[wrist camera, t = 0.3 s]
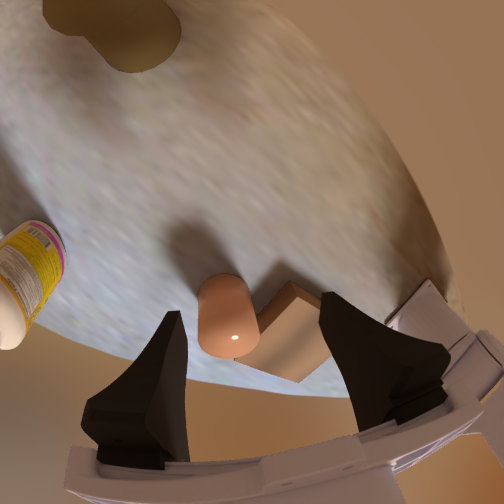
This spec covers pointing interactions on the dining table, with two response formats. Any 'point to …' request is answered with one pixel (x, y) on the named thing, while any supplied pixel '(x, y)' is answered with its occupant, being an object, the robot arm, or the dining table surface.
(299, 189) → the dining table surface
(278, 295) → the walnut board
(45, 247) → the supplement bottle
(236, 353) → the tan rounded cylinder
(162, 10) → the cork
